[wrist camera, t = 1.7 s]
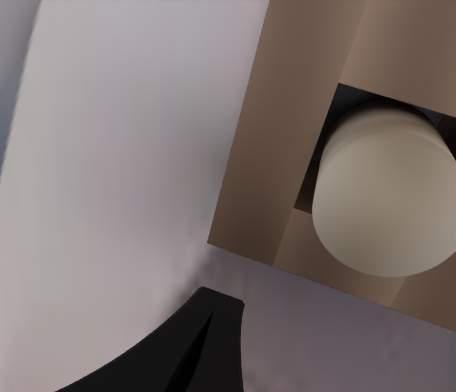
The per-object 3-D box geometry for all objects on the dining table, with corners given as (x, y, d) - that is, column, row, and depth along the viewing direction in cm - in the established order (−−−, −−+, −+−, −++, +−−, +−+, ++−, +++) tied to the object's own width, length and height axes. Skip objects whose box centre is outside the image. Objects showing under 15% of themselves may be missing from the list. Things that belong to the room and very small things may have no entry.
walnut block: (813, -374, 11) (1135, -627, 6) (438, 259, 20) (461, 333, 16) (411, -434, 12) (445, -681, 7) (237, 190, 21) (206, 243, 17)
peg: (464, 120, 14) (506, 171, 10) (411, 220, 16) (430, 296, 12) (345, 85, 15) (342, 120, 11) (308, 186, 16) (293, 248, 13)
